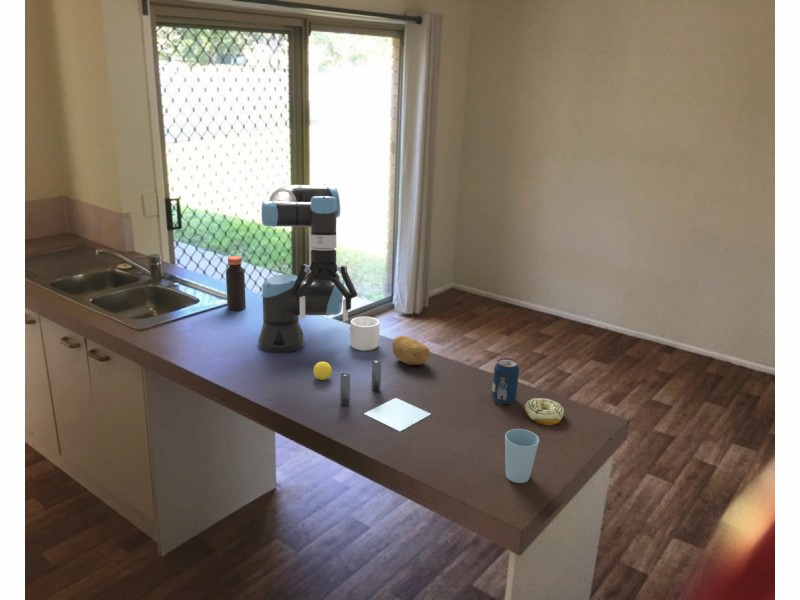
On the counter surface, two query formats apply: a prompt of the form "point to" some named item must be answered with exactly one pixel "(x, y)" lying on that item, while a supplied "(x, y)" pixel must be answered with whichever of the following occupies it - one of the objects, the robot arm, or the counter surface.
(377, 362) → the post
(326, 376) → the ball
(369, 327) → the mug
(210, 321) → the counter surface
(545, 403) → the decorated donut
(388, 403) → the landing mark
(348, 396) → the post
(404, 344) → the potato
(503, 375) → the soda can
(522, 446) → the cup
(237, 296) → the bottle
